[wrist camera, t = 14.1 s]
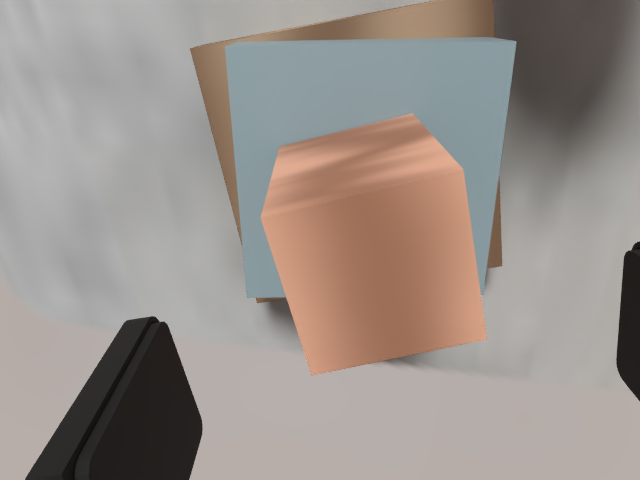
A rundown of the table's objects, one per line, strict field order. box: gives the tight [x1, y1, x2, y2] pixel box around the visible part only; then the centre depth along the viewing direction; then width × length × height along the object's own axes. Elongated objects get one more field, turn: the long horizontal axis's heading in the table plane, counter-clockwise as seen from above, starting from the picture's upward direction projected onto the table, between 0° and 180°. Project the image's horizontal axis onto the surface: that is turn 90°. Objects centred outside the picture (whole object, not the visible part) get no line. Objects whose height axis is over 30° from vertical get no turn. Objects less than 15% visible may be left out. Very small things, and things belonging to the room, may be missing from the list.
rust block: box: [261, 113, 487, 375], centre depth 16 cm, size 5×5×7 cm
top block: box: [225, 37, 517, 298], centre depth 21 cm, size 10×10×3 cm
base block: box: [190, 0, 502, 303], centre depth 24 cm, size 12×12×3 cm
